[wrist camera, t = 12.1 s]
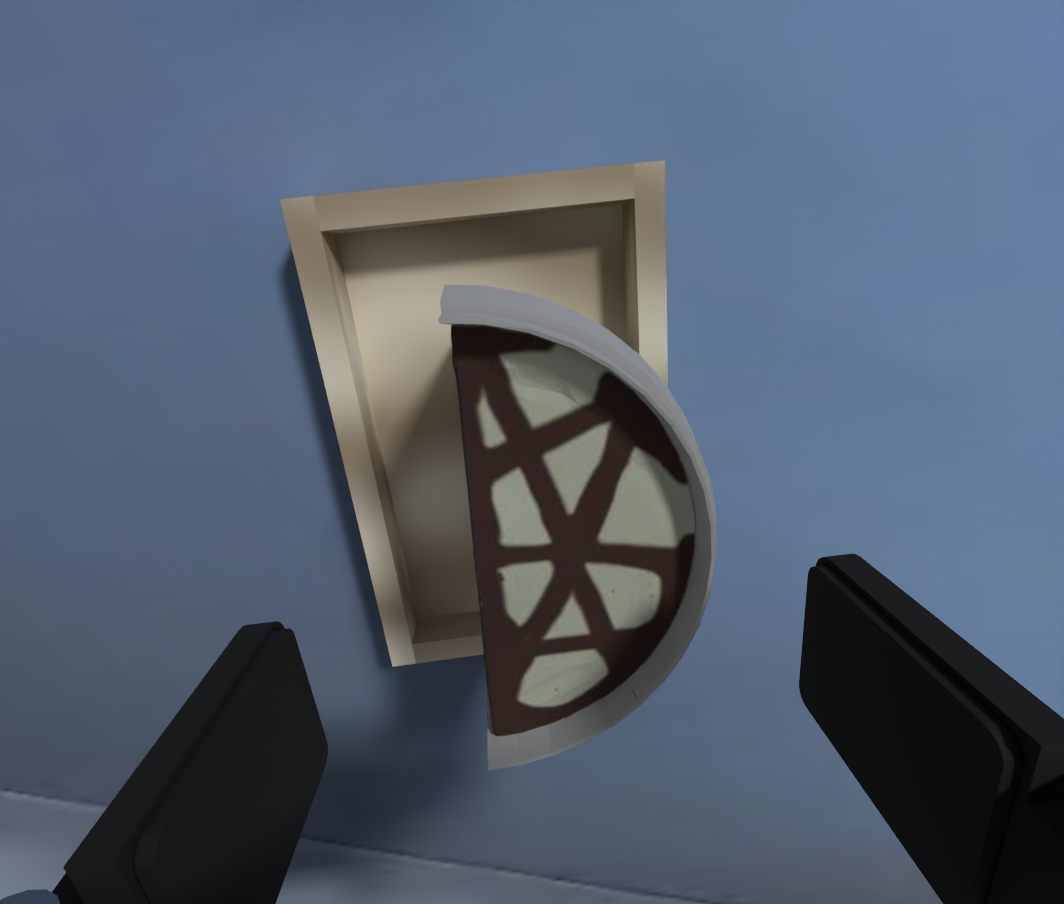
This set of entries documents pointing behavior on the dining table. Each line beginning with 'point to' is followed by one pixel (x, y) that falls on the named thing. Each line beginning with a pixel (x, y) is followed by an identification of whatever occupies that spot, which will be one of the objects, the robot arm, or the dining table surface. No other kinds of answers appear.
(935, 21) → the dining table surface
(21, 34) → the dining table surface
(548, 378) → the food container
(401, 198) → the holder tray
